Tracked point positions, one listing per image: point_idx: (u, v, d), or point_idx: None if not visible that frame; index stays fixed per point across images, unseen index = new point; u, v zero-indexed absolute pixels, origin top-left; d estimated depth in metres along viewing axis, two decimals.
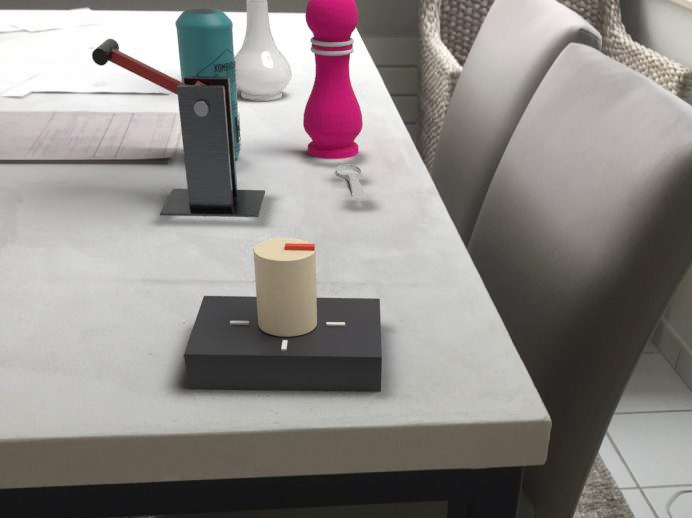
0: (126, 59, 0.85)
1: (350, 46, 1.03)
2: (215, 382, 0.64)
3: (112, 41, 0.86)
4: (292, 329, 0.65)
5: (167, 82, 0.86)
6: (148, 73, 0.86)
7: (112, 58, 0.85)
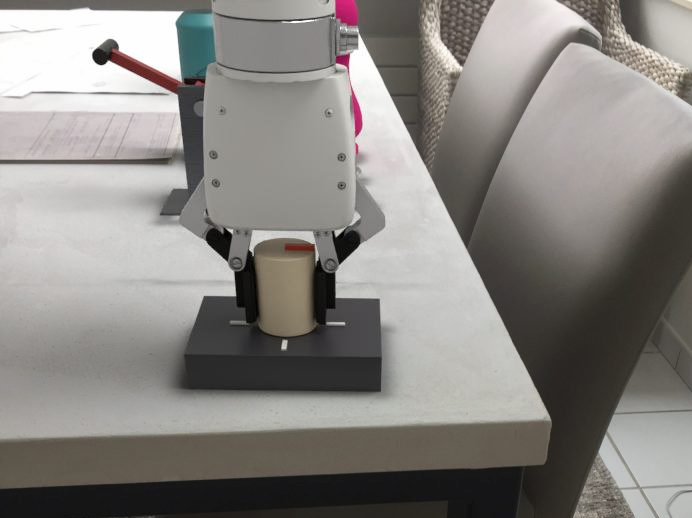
0: (126, 59, 0.85)
1: None
2: (215, 382, 0.64)
3: (112, 41, 0.86)
4: (292, 329, 0.65)
5: (167, 82, 0.86)
6: (148, 73, 0.86)
7: (112, 58, 0.85)
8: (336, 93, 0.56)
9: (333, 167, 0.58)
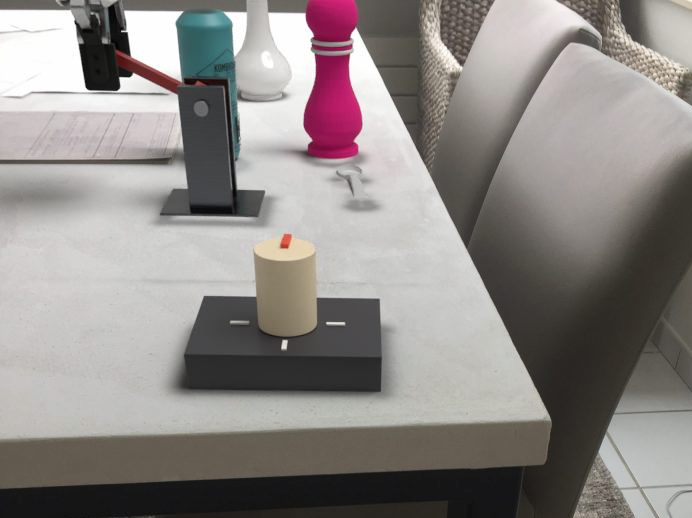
0: (126, 59, 0.85)
1: (350, 46, 1.03)
2: (215, 382, 0.64)
3: (112, 41, 0.86)
4: None
5: (167, 82, 0.86)
6: (148, 73, 0.86)
7: None
8: None
9: None
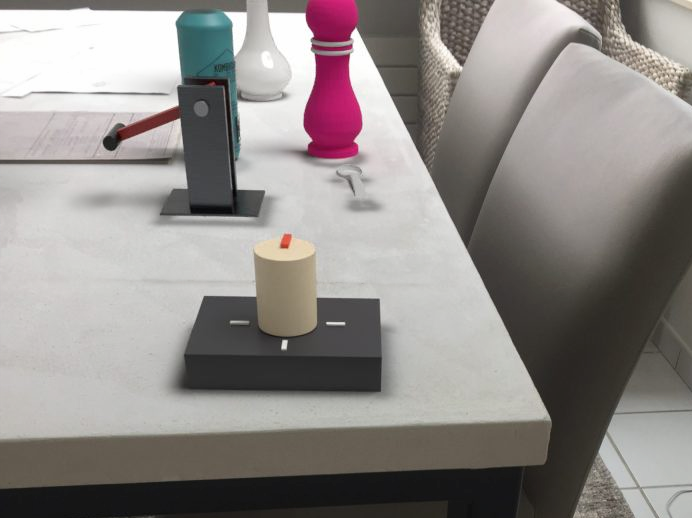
0: (130, 127, 0.89)
1: (350, 46, 1.03)
2: (215, 382, 0.64)
3: (116, 125, 0.91)
4: None
5: (168, 115, 0.88)
6: (152, 122, 0.89)
7: (122, 136, 0.89)
8: None
9: None
